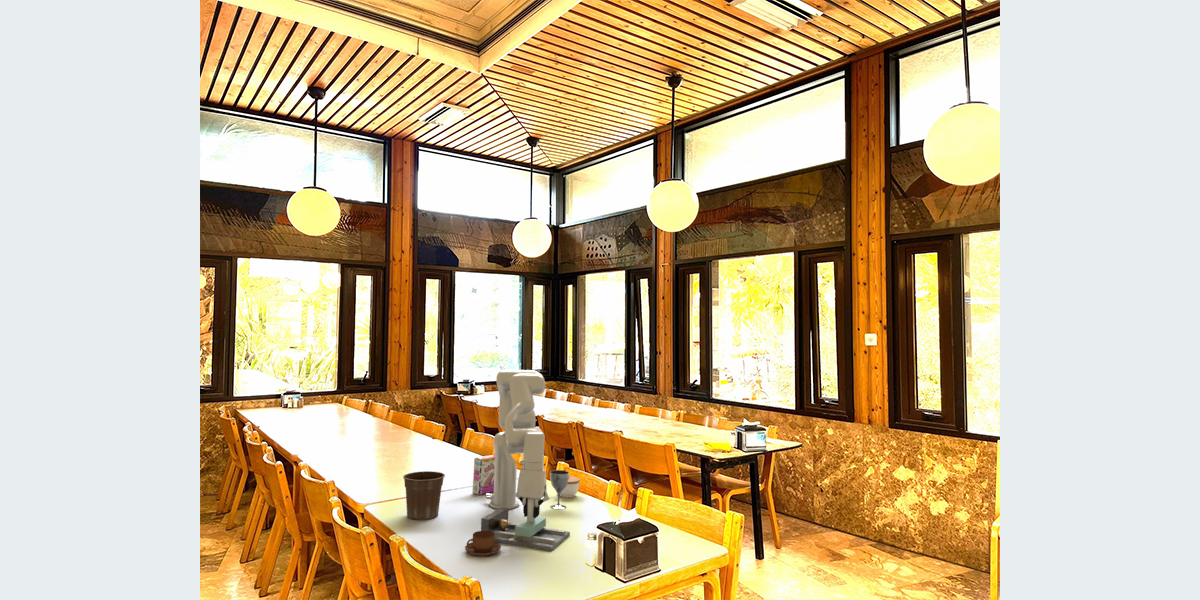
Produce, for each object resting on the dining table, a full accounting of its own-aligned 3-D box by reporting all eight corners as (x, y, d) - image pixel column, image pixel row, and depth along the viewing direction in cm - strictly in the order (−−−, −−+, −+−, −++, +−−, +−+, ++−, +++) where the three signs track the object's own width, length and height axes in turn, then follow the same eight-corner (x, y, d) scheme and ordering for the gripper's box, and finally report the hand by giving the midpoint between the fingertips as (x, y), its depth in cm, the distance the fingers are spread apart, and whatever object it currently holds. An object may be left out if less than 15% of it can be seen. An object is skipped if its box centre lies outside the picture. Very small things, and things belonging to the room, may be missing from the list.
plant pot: (393, 515, 250) (395, 474, 251) (428, 507, 261) (430, 469, 262) (414, 524, 239) (417, 482, 239) (450, 516, 250) (452, 476, 251)
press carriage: (514, 535, 221) (516, 490, 222) (530, 524, 235) (532, 482, 235) (530, 537, 219) (532, 492, 220) (545, 526, 233) (547, 484, 234)
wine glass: (570, 505, 272) (571, 471, 273) (563, 510, 264) (564, 474, 265) (553, 503, 275) (554, 469, 275) (546, 508, 267) (547, 472, 268)
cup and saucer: (484, 561, 203) (484, 542, 204) (457, 553, 210) (458, 535, 210) (507, 551, 214) (508, 533, 214) (481, 544, 220) (482, 526, 220)
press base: (479, 540, 223) (479, 519, 224) (501, 526, 240) (502, 506, 241) (551, 551, 215) (552, 529, 215) (569, 535, 232) (570, 515, 232)
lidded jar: (583, 495, 290) (584, 475, 291) (570, 500, 281) (571, 479, 282) (564, 491, 296) (565, 471, 296) (551, 496, 287) (552, 475, 287)
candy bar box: (479, 495, 283) (481, 459, 284) (472, 493, 286) (473, 457, 287) (497, 491, 292) (498, 456, 293) (489, 489, 295) (491, 454, 296)
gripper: (508, 465, 227) (506, 516, 226) (550, 469, 222) (548, 522, 221) (517, 461, 234) (515, 511, 233) (557, 465, 229) (555, 516, 228)
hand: (531, 515), depth 227 cm, fingers closed on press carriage, 3 cm apart
